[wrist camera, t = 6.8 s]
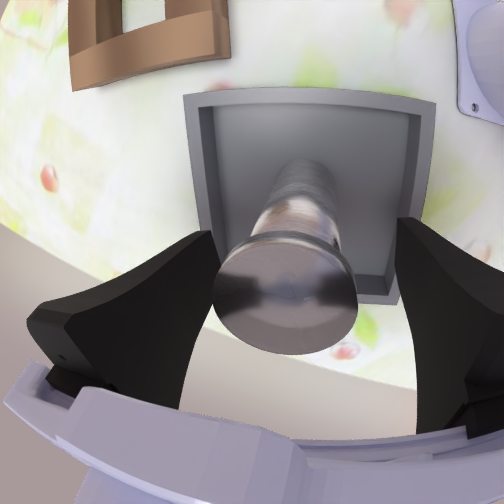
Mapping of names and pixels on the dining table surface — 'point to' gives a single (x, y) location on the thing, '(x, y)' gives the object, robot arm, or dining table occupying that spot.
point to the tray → (318, 149)
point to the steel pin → (290, 269)
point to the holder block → (142, 40)
